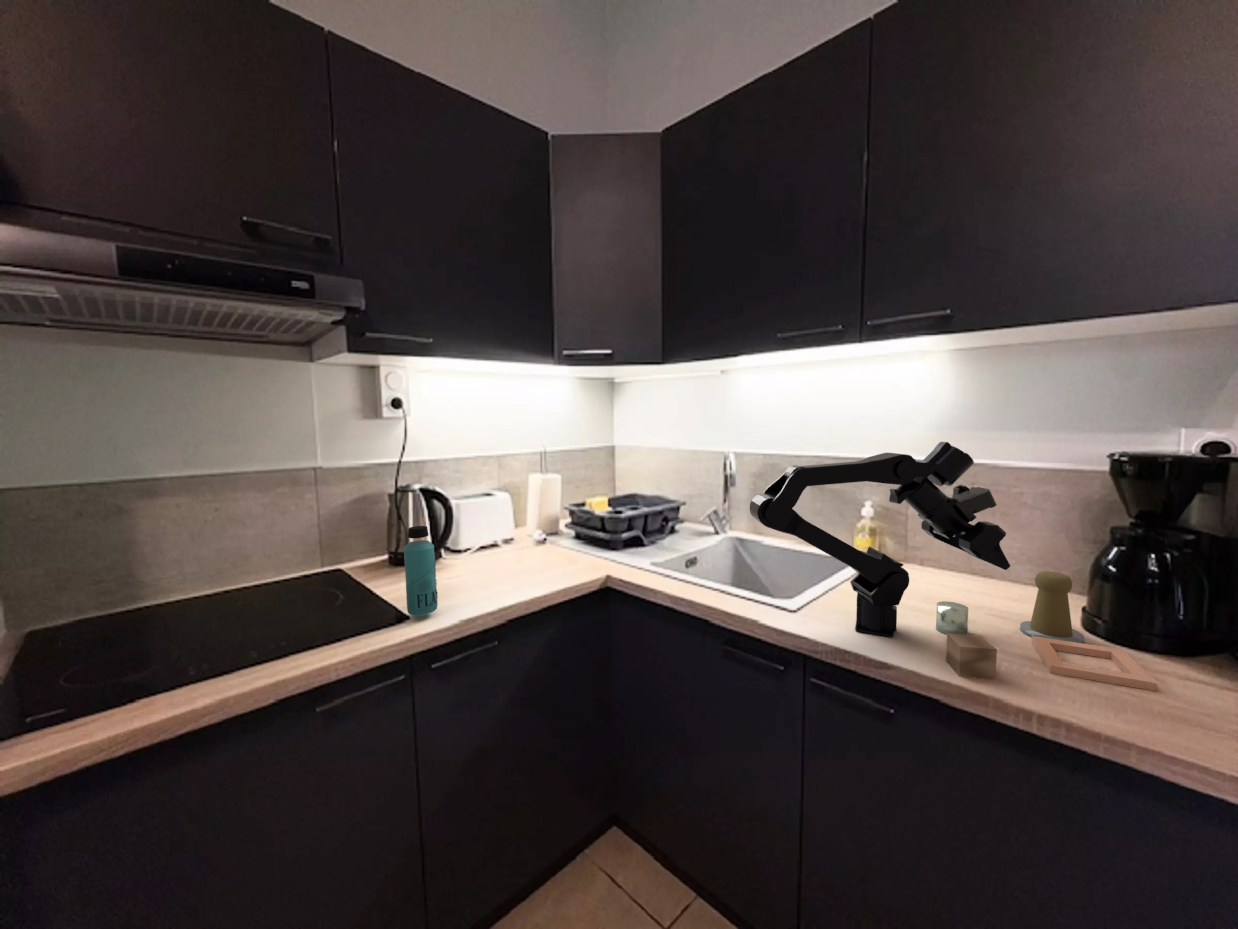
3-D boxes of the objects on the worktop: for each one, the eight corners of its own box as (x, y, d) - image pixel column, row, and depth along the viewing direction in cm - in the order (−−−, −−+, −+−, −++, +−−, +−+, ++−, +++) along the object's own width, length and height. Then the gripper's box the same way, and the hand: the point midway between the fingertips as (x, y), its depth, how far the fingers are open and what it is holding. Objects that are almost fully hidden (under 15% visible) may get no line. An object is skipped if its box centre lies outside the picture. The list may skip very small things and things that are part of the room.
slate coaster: (1026, 639, 89) (1026, 635, 89) (1014, 621, 97) (1015, 617, 97) (1092, 649, 85) (1092, 645, 85) (1074, 630, 93) (1075, 626, 93)
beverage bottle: (415, 625, 102) (409, 531, 101) (401, 617, 107) (396, 527, 105) (444, 615, 107) (439, 526, 105) (430, 608, 111) (425, 522, 110)
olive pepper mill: (1021, 624, 94) (1023, 568, 93) (1051, 623, 94) (1054, 567, 93) (1049, 638, 88) (1052, 578, 87) (1082, 637, 88) (1085, 577, 87)
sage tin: (937, 634, 92) (937, 608, 92) (934, 624, 97) (935, 599, 96) (969, 639, 90) (970, 613, 90) (965, 628, 94) (966, 603, 94)
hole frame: (1050, 672, 78) (1050, 665, 77) (1031, 642, 88) (1031, 636, 88) (1156, 691, 72) (1156, 683, 72) (1122, 656, 82) (1122, 649, 82)
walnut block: (959, 677, 77) (960, 646, 77) (946, 662, 82) (947, 633, 82) (995, 680, 76) (997, 649, 76) (980, 664, 81) (981, 635, 80)
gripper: (995, 479, 82) (1064, 543, 82) (939, 468, 101) (995, 521, 100) (943, 524, 84) (1011, 588, 84) (897, 506, 103) (952, 558, 102)
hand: (992, 560), depth 92 cm, fingers open, 9 cm apart
